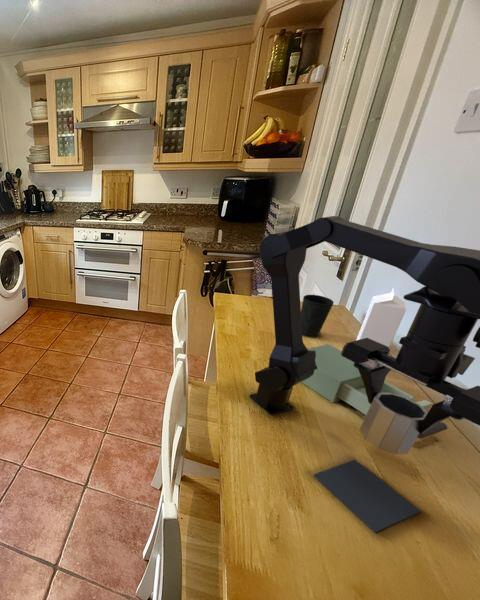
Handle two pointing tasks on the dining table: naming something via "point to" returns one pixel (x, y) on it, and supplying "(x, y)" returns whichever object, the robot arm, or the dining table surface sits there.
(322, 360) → the sage green angled casing
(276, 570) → the dining table surface
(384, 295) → the milk
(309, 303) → the cup
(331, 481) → the pad
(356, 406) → the drawer
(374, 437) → the tumbler
